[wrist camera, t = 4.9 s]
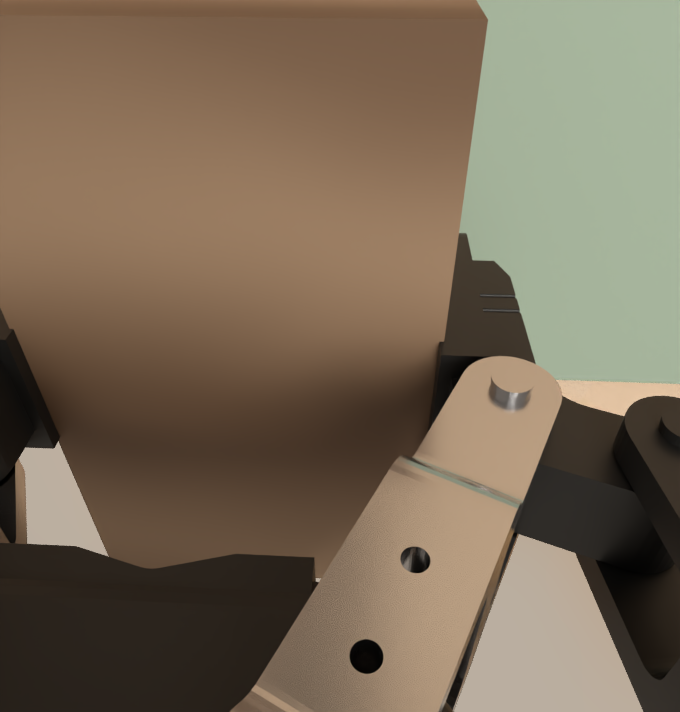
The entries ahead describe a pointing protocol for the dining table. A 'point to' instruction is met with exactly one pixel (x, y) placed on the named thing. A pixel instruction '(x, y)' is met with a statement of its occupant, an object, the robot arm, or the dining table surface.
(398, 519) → the robot arm
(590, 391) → the dining table surface
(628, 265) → the mat
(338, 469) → the stool
